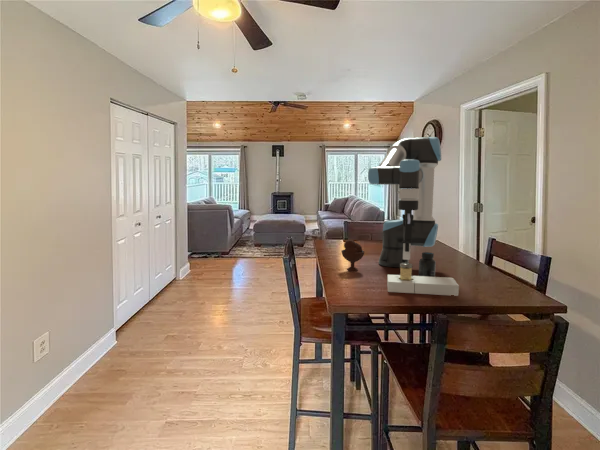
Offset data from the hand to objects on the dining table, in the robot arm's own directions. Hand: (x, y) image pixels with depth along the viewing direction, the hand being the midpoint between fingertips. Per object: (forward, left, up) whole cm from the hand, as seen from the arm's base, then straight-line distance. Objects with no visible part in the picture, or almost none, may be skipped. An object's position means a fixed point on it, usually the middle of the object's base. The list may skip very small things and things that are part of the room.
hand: (406, 259), depth 150 cm
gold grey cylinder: (0, 0, -12) cm, 12 cm away
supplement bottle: (-16, +10, -12) cm, 23 cm away
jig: (0, +6, -12) cm, 13 cm away
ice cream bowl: (-28, -23, -12) cm, 38 cm away
